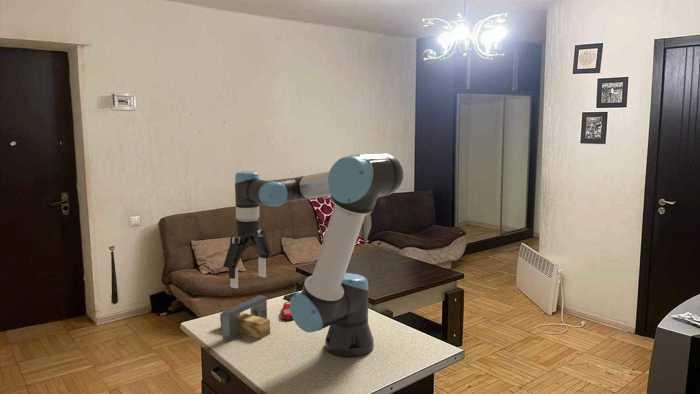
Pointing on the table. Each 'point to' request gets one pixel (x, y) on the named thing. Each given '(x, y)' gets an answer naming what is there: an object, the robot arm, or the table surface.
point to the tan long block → (253, 325)
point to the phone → (289, 296)
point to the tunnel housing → (233, 316)
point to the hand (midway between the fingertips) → (248, 281)
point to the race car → (286, 311)
